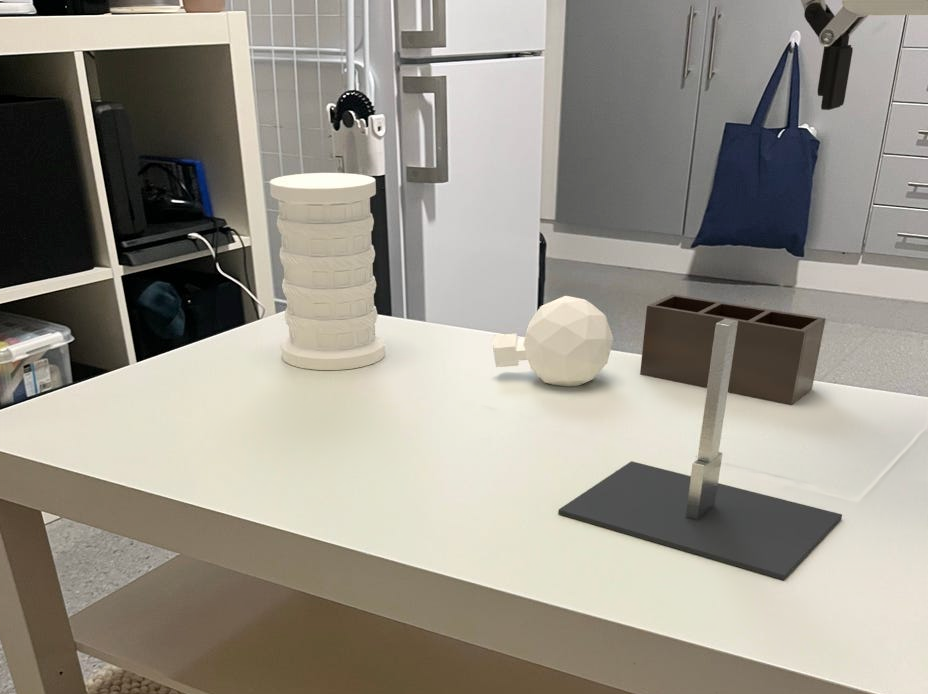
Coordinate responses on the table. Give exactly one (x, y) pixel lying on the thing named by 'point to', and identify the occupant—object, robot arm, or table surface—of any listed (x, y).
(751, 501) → the mat
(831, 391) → the table surface
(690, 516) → the stepped grey rod
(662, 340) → the box
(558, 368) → the perfume bottle
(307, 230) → the decorative container
